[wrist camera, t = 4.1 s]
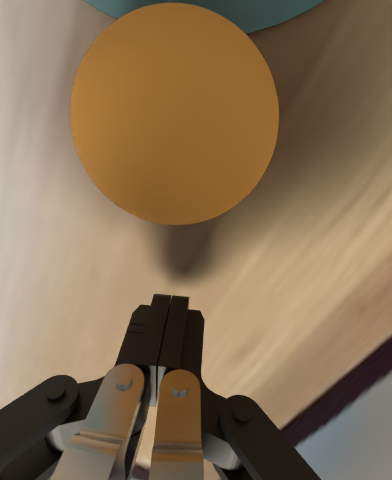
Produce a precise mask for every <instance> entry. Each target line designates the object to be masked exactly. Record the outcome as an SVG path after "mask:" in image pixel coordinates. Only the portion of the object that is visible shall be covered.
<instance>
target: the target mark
mask: <svg viewBox="0 0 392 480" xmlns="http://www.w3.org/2000/svg"><path fill="white" fill-rule="evenodd" d="M84 1H86V2H87V3H89V4H90V5H92V6H93V7H95V8H96V9H98V10H100V11H102V12H104V13H106V14H108V15H110V16H112V17H114V18H116V19H119V18H120V17H122V16H124V15H126V14H128V13H130V12H131V11H134V10H136V9H139V8H142V7H145V6H149V5H153V4H159V3H185V4H191V5H196V6H199V7H203V8H206V9H208V10H211V11H213V12H215V13H217V14H219V15H221V16H223V17H224V18H226V19H228V20H229V21H231V22H232V23H234V24H235V25H236V26H237V27H239V28H240V29H241V30H242V31H243V32H244V33H245V34H248V33H251V32H255V31H258V30H261V29H264V28H268V27H271V26H274V25H278V24H280V23H282V22H284V21H286V20H289V19H291V18H293V17H295V16H297V15H299V14H301V13H304V12H306V11H308V10H310V9H312V8H313V7H315V6H316V5H318V4H320V3H321V2H323V1H324V0H84Z"/></svg>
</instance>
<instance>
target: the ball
mask: <svg viewBox="0 0 392 480" xmlns="http://www.w3.org/2000/svg"><path fill="white" fill-rule="evenodd" d="M70 119H71V129H72V134H73V139H74V144H75V147H76V150H77V152H78V155H79V158H80V160H81V162H82V164H83V166H84V168H85V170H86V171H87V173H88V175H89V176H90V178H91V179H92V181H93V182H94V183H95V185H96V186H97V187H98V188H99V189H100V190H101V191H102V193H103V194H104V195H105V196H107V197H108V198H109V199H110V200H111V201H113V202H114V203H115V204H116V205H117V206H119V207H120V208H122V209H123V210H125V211H127V212H128V213H130V214H132V215H135V216H137V217H139V218H141V219H145V220H148V221H151V222H155V223H161V224H168V225H185V224H194V223H198V222H203V221H206V220H209V219H212V218H214V217H217V216H219V215H221V214H222V213H224V212H226V211H228V210H230V209H231V208H232V207H234V206H235V205H237V204H238V203H240V202H241V201H242V200H243V199H244V198H245V197H246V196H247V195H248V194H249V193H250V192H251V191H252V190H253V188H254V187H255V186H256V185H257V184H258V182H259V181H260V179H261V177H262V176H263V174H264V173H265V171H266V169H267V166H268V164H269V162H270V160H271V158H272V155H273V152H274V149H275V145H276V141H277V135H278V128H279V105H278V97H277V92H276V88H275V84H274V80H273V77H272V75H271V72H270V69H269V67H268V65H267V63H266V61H265V59H264V58H263V56H262V54H261V53H260V51H259V50H258V48H257V47H256V46H255V44H254V43H253V42H252V40H251V39H250V38H249V37H248V36H247V35H246V34H245V33H244V32H243V31H242V30H241V29H240V28H239V27H237V26H236V25H235V24H234V23H232V22H231V21H229V20H228V19H226V18H224V17H223V16H221V15H219V14H217V13H215V12H213V11H211V10H208V9H206V8H203V7H199V6H196V5H191V4H185V3H159V4H153V5H149V6H145V7H142V8H139V9H136V10H134V11H131V12H130V13H128V14H126V15H124V16H122V17H120V18H119V19H117V20H116V21H115V22H113V23H112V24H110V25H109V26H108V27H107V28H106V29H105V30H104V31H103V32H102V33H101V34H100V35H99V36H98V37H97V39H96V40H95V41H94V42H93V43H92V45H91V46H90V48H89V49H88V51H87V52H86V54H85V55H84V57H83V59H82V61H81V63H80V66H79V68H78V71H77V74H76V77H75V80H74V84H73V90H72V95H71V103H70Z"/></svg>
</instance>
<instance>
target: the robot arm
mask: <svg viewBox="0 0 392 480" xmlns="http://www.w3.org/2000/svg"><path fill="white" fill-rule="evenodd" d="M188 307H189V297H183V296H174V295H173V296H172V299H171V295H163V294H154V296H153V299H152V303H151V306H149V305H140V306H139V307H138V308H137V309H136V310H135V311H134V312H133V313H132V316H131V319H130V322H129V325H128V328H127V332H126V334H125V337H124V340H123V343H122V346H121V349H120V352H119V355H118V358H117V361H116V364H115V366H114V367H113V368H112V369H110V370H109V371H108V372H107V374H106V375H105V376H104V377H102V378H100V379H97V380H94V381H89V382H84V383H78V384H77V382H76V380H75V379H74V378H72V377H70V376H67V375H57V376H53V377H51V378H49V379H47V380H45V381H44V382H42V383H41V384H39V385H37V386H36V387H34V388H33V389H31V390H30V391H28V392H27V393H25V394H24V395H22V396H20V397H19V398H17V399H16V400H14V401H13V402H11V403H10V404H8V405H7V406H5V407H3V408H2V409H0V480H47V479H48V478H49V477H50V476H51V475H52V478H51V480H130V479H131V475H132V472H133V468H134V465H135V461H136V457H137V454H138V450H139V447H140V443H141V440H142V436H143V432H144V429H145V423H146V419H147V414H148V409H149V406H153V407H156V402H157V397H158V402H157V407H158V409H157V419H156V428H155V438H154V446H153V449H152V457H151V467H150V476H149V480H204V467H203V458H204V459H206V460H208V461H210V462H212V463H213V465H214V468H215V470H216V471H217V473H218V474H219V476H220V478H221V479H222V480H321V479H320V478H319V477H318V476H317V474H316V473H315V472H314V471H313V469H312V468H311V467H310V466H309V465H308V464H307V462H306V461H305V460H304V459H303V458H302V457H301V455H300V454H299V453H298V452H297V451H296V449H295V448H294V447H293V446H292V445H291V443H290V442H289V441H288V440H287V439H286V437H285V436H284V435H283V434H282V433H281V432H280V430H279V429H278V428H277V427H276V426H275V424H274V423H273V422H272V421H271V420H270V419H269V417H268V416H267V415H266V414H265V413H264V411H263V410H262V409H261V408H260V407H259V406H258V404H257V403H256V402H255V401H253V400H252V399H251V398H249V397H246V396H243V395H234V396H231V397H229V398H227V399H226V398H224V397H222V396H220V395H217V394H215V393H213V392H212V391H211V390H209V389H208V388H207V387H206V385H205V384H204V382H203V380H202V377H201V363H202V349H203V334H204V318H203V316H202V314H201V311H199V310H189V309H188Z"/></svg>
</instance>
